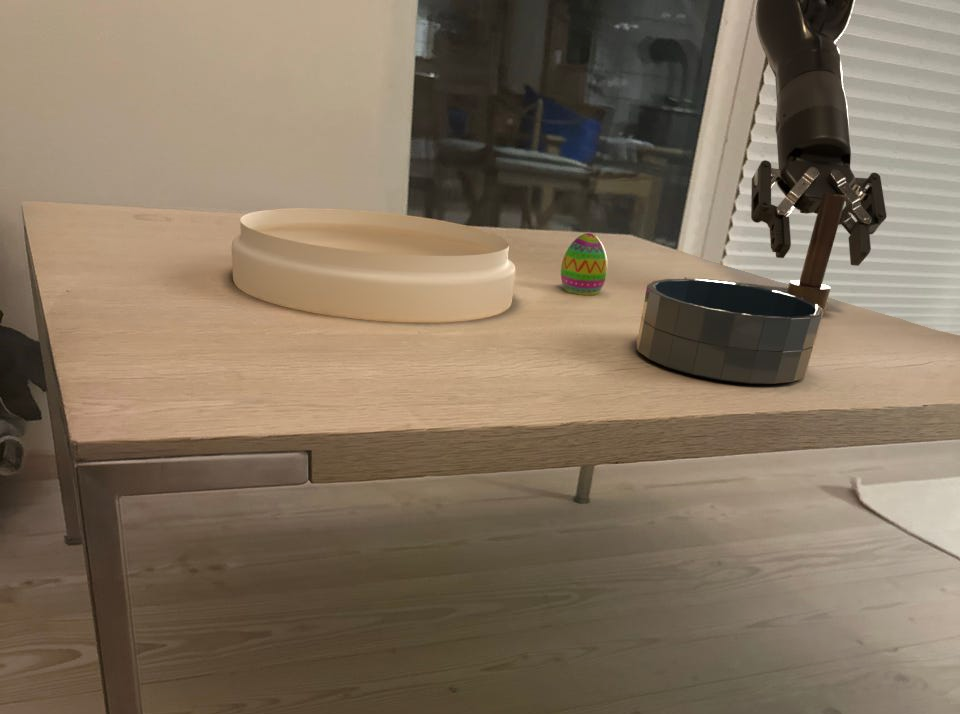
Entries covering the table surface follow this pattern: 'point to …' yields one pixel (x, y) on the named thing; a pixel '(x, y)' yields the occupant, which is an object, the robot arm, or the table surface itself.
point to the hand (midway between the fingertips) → (821, 257)
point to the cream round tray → (372, 265)
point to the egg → (584, 266)
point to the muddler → (819, 252)
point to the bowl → (728, 331)
